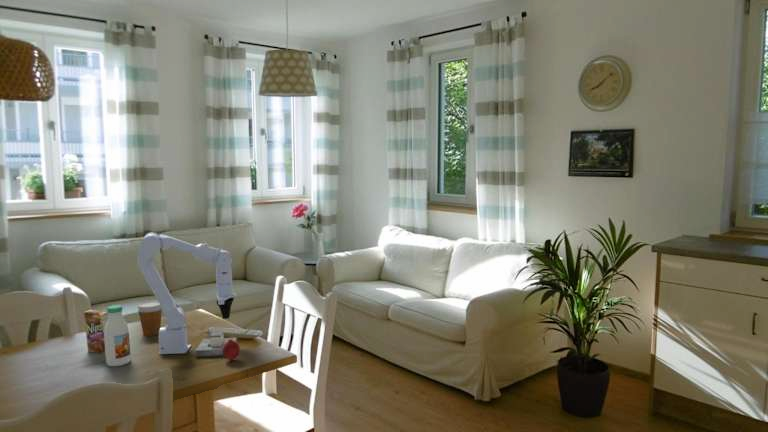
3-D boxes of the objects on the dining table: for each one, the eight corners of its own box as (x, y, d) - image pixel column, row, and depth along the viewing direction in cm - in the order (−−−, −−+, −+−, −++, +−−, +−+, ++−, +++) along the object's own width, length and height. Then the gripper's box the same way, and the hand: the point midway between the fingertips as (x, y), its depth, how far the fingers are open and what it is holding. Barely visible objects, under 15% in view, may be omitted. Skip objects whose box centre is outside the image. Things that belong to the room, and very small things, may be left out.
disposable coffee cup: (143, 329, 228) (141, 301, 226) (167, 328, 229) (165, 300, 227) (135, 337, 219) (133, 308, 217) (160, 336, 220) (158, 306, 218)
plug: (210, 351, 201) (209, 335, 200) (212, 347, 205) (212, 332, 204) (221, 351, 201) (220, 335, 201) (223, 347, 205) (223, 331, 205)
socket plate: (195, 357, 197) (195, 350, 197) (203, 345, 209) (203, 339, 208) (230, 355, 198) (229, 349, 197) (236, 344, 210) (236, 337, 209)
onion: (243, 358, 195) (242, 336, 194) (233, 364, 190) (232, 341, 189) (229, 356, 197) (228, 334, 196) (219, 362, 192) (218, 340, 191)
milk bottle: (106, 368, 188) (102, 311, 185) (106, 361, 195) (101, 305, 192) (131, 364, 191) (127, 307, 189) (130, 357, 198) (126, 302, 196)
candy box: (86, 352, 204) (83, 311, 202) (96, 348, 208) (93, 308, 206) (105, 355, 200) (101, 313, 199) (114, 350, 204) (111, 310, 203)
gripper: (231, 287, 201) (233, 323, 202) (238, 277, 215) (240, 312, 217) (211, 287, 200) (213, 324, 202) (220, 278, 214) (221, 312, 216)
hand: (226, 318), depth 209 cm, fingers closed
